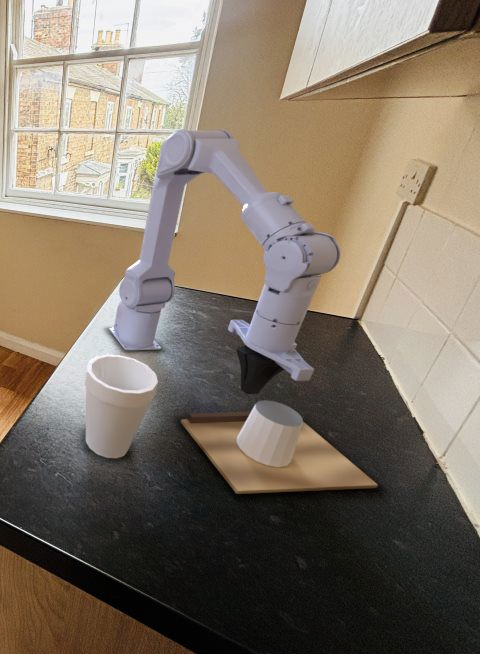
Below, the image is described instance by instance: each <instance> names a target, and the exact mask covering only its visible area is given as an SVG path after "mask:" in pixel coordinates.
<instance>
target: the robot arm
mask: <svg viewBox="0 0 480 654" xmlns="http://www.w3.org/2000/svg"><path fill="white" fill-rule="evenodd" d="M239 149H240V142H239V140H237V139H235V138H234V136H233V134H232V133H231V132H230V131H229V130H226V129H216V130H187V129H177V130H175V131H173V132H172V133H171V134H170V135H169V136H167V138H165V139H163V141H162V142H161V146H160V151H159V156H158V161H157V167H156V170H155V174H154V178H153V184H152V188H151V194H150V199H149V205H148V210H147V216H146V221H145V227H144V232H143V238H142V242H141V243H142V244H141V247H140V253H139V254H140V255H139V259H138V260H137V261H136V262H135V263H134V264H131V266H129V267H127V269H126V270H125V272H124V277H123V279H122V281H121V282H120V284H119V287H118V288H119V291H118V293H119V298H120V302H119V303H118V305H117V308H116V313H115V318H114V322H113V327H110V328H109V331H110V333H111V334H112V335H113V336H114V338H115V339H116V340H117V341H118V343H119V344H120V345H121V347H122V348H123V349H124V350H125V351H159V350H161V349H162V347H161V346H160V344H159V343H158V342H157V341H156V340H155V337H156V334H157V329H158V324H159V321H160V317H161V312H162V309H164V308H165V307H166V303H169V302H171V301H172V300H173V298H174V296H175V293H176V286H175V277H176V272H175V270H174V269H173V268H171V267H170V265H169V260H170V255H171V251H172V247H173V241H174V238H175V233H176V228H177V224H178V219H179V214H180V210H181V205H182V201H183V195H184V191H185V186H186V185H187V184H188V183H190V182H191V181H193V180H194V179H195V178H197V177H198V176H200V175H203V174H205V173H207V174H213V176H214V177H216V179H217V180H218V181H219V182H220V183H221V184H222V185H223V187H225V189H227V191H228V192H229V193H230V194H231V195H232V196H233V197H234V199H236V200H237V202H239V204H240V205H241V206H242V211H241V212H240V213H241V214H240V220H242V223H244V225H245V226H246V227H247V229H248V230H249V231H250V233H251V234H252V235H253V236H254V238H255V239H256V241H257V242H258V243H259V244H260V246H261V248H263V250H264V252H263V256H262V257H263V259H262V260H263V265H264V268H265V275H264V278H263V281H264V285H263V287H262V290H261V292H260V296H259V299H258V301H257V304H256V307H255V310H254V313H253V316H252V319H251V321H250V323H248V322H246V321H245V320H243V319H230V320H229V321H230V322H229V325H228V327H227V330H228V331H229V332H230V333H232V334H236V335H238V336H239V338H240V339H241V341H242V342H243V344H244V345H243V346H242V345H240V346H237V347H236V350H235V352H236V354H237V357H238V361H239V366H240V390H241V391H242V392H243V393H244V394H245V395H258V394H259V393H260V392H261V391H262V390H263V388H264V387H265V386H266V385H267V384H268V383H269V382H270V381H271V380H272V379H273V378H275V376H277V375H278V374H280V373H281V372H283V371H284V370H285V371H287V372H288V373H289V374H290V378H291V379H292V380H294V381H295V382H308V381H310V380H311V379H312V376H313V373H314V371H315V368H314V367H312V366H311V365H310V364H309V363H307V362H306V361H305V360H304V358H303V357H302V356H301V355H300V353H299V352H298V351H297V349H296V348H297V346H298V344H297V342H295V341H296V339H297V336H298V334H299V332H300V330H301V327H302V324H303V322H304V320H305V318H306V315H307V313H308V310H309V307H310V306H311V303H312V300H313V298H314V295H315V293H316V291H317V288H318V287H319V283H320V281H321V279H322V275H324V274H328V273H329V272H331V271H332V270H333V269H335V268H336V266H337V265H338V263H339V262H340V259H341V249H340V246H339V244H338V242H337V240H336V237H334V236H333V235H331V234H329V233H326V232H319V231H316V230H315V226H314V225H313V224H312V223H311V222H307V221H306V219H304V217H303V216H302V215H301V214H300V213H299V212H298V211H297V209H296V208H295V207H294V205H292V204H293V203H294V199H293V198H292V196H291V195H287V194H286V195H284V194H283V193H281V192H277V191H273V192H272V191H271V192H268V190H267V188H266V187H265V186H264V185H263V183H262V182H261V180H260V179H259V177H258V176H257V174H256V172H254V170H253V168H252V167H251V166H250V164H249V163H248V161H247V160H246V159H245V158H244V156H243V154H242V153H241V151H240V150H239Z"/></svg>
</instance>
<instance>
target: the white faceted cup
mask: <svg viewBox="0 0 480 654" xmlns="http://www.w3.org/2000/svg"><path fill="white" fill-rule="evenodd" d="M250 412H251V413H250V415H249V417H248V418H247V420H246V422H245V424H244V426H243V427H242V429H241V431H240V433H239V435H238V436H237V444H238V446H239V448H240V449H241V450H242V451H243V452H244V453H245V454H246V455H247V456H249V457H250V458H252V459H254V460H255V461H257V462H260V463H262V464H265V465H268V466H273V467H284V466H287V465H288V464H289V463H290V462H291V460H292V457H293V454H294V450H295V447H296V444H297V441H298V437H299V434H300V431H301V428H302V425H303V422H304V420H303V419H304V418H303V416H301V414H300V413H299V412H297V411H296V410H294V409H293V408H292V407H290V406H289V405H286V404H284V403H281V402H277V401H274V400H267V399H264V400H258V401H257V402H256V403H255V404H254V406H253V407H252V409H251V411H250Z"/></svg>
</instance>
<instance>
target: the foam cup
mask: <svg viewBox="0 0 480 654" xmlns="http://www.w3.org/2000/svg"><path fill="white" fill-rule="evenodd" d="M158 384H159V381H158V377H157V374H156V372H155V371H154V370H152V368H151V367H150V366H149V365H147V364H145V363H143V362H142V361H140V360H138V359H136V358H133V357H129V356H125V355H121V354H107V353H106V354H101V355H98V356H94V357H93V358H92V359H90V360H89V361H88V362H87V363H86V370H85V378H84V385H85V386H86V387H85V389H86V390H85V443H86V444H87V446H88V448H89V449H90V450H91V451H92V452H93V453H95V454H96V455H98V456H101V457H103V458H107V459H119V458H122V457H124V456H126V454H127V452H128V451H129V449H130V447H131V445H132V443H133V441H134V439H135V436H136V434H137V432H138V430H139V427H140V426H141V423H142V421H143V419H144V416H145V415H146V412H147V410H148V408H149V405H150V404H151V402H152V400H153V399H154V398H155V395H156V392H157V388H158Z"/></svg>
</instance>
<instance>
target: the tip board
mask: <svg viewBox="0 0 480 654" xmlns="http://www.w3.org/2000/svg"><path fill="white" fill-rule="evenodd" d="M250 413H251V411H228V412H227V411H225V412H191V413H188V415H187V418H184V419H183V418H181V420H180V423H181V424H182V426H183V427H184V429H185V430H186V431H187V432H188V433H189V435H190V436H191V438H192V439H193V440H194V441H195V443H196V444H197V445H198V446H199V448H200V449H201V450H202V451H203V453H204V454H205V455H206V457H207V458H208V460H209V461H210V462H211V463H212V464H213V466H214V467H215V469H216V470H217V471H218V472H219V474H220V475H221V476H222V478H223V479H224V480H225V481H226V483H227V484H228V485H229V486H230V488H231V489H232V490H233V492H234V493H235V494H236V495H243V494H244V495H245V494H267V493H270V494H271V493H290V492H291V493H293V492H316V491H337V490H340V491H341V490H357V489H358V490H360V489H377V488H378V486H379V484H377V482H375V480H373V479H372V478H371V477H370V476H369V475H367V474H366V473H365V472H364V471H362V470H361V469H360V468H359V467H358V466H357V465H355V464H354V463H353V462H352V461H350V460H349V459H348V457H346V456H345V455H344V454H342V453H341V452H340V451H339V450H337V449H336V448H335V447H334V446H333V445H332V444H330V443H329V442H328V441H327V440H326V439H324V437H322V436H321V435H320V434H319V433H317V432H316V431H315V430H314V429H313V428H312V427H310V426H309V425H308V424H307V423H306V422H305V421H303V425H302V428H301V431H300V434H299V437H298V441H297V444H296V447H295V450H294V454H293V457H292V460H291V462H290V463H289V464H288V465H287V466H284V467H273V466H268V465H265V464H262V463H260V462H257V461H255V460H254V459H252V458H250V457H249V456H247V455H246V454H245V453H244V452H243V451H242V450H241V449H240V448H239V446H238V444H237V436H238V435H239V433H240V431H241V429H242V427H243V426H244V424H245V422H246V420H247V418H248V417H249V415H250Z"/></svg>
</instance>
